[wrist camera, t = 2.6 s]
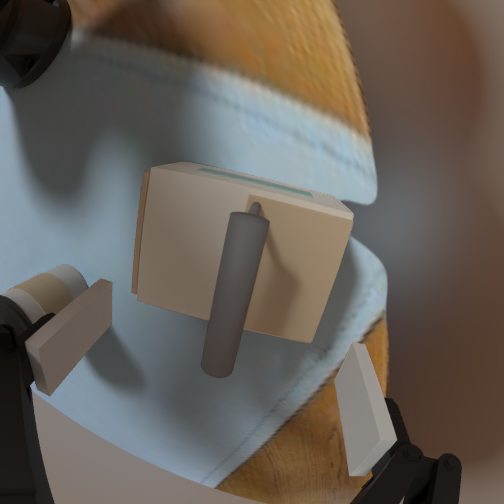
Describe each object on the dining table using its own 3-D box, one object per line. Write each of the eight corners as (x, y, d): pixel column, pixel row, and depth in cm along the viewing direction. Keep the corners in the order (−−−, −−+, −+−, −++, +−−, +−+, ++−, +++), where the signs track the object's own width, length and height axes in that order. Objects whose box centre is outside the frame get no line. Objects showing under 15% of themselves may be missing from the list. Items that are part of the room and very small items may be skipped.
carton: (179, 158, 31) (144, 164, 23) (334, 195, 31) (354, 212, 23) (162, 263, 35) (130, 298, 27) (303, 298, 35) (309, 343, 27)
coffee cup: (106, 306, 38) (43, 373, 24) (66, 321, 40) (8, 379, 26) (74, 247, 36) (-4, 295, 22) (37, 268, 38) (-32, 314, 23)
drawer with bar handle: (244, 192, 23) (228, 213, 16) (352, 220, 23) (382, 252, 16) (217, 318, 27) (197, 374, 19) (311, 339, 26) (318, 399, 19)
